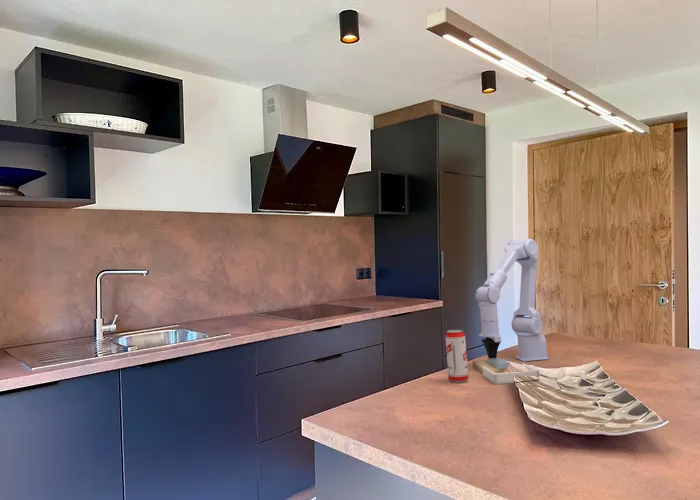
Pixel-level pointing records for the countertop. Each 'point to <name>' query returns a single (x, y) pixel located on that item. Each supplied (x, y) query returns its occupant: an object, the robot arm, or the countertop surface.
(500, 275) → the robot arm
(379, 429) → the countertop surface
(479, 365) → the board
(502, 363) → the tile front
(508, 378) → the tray
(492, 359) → the tile rear
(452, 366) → the beer can
